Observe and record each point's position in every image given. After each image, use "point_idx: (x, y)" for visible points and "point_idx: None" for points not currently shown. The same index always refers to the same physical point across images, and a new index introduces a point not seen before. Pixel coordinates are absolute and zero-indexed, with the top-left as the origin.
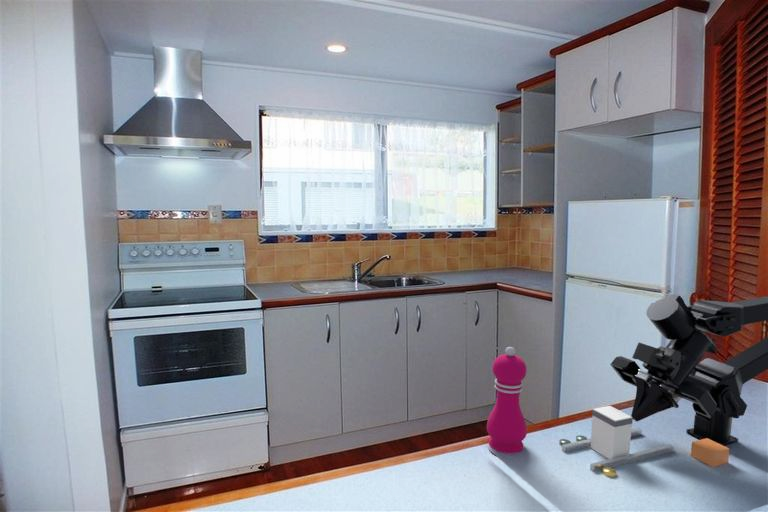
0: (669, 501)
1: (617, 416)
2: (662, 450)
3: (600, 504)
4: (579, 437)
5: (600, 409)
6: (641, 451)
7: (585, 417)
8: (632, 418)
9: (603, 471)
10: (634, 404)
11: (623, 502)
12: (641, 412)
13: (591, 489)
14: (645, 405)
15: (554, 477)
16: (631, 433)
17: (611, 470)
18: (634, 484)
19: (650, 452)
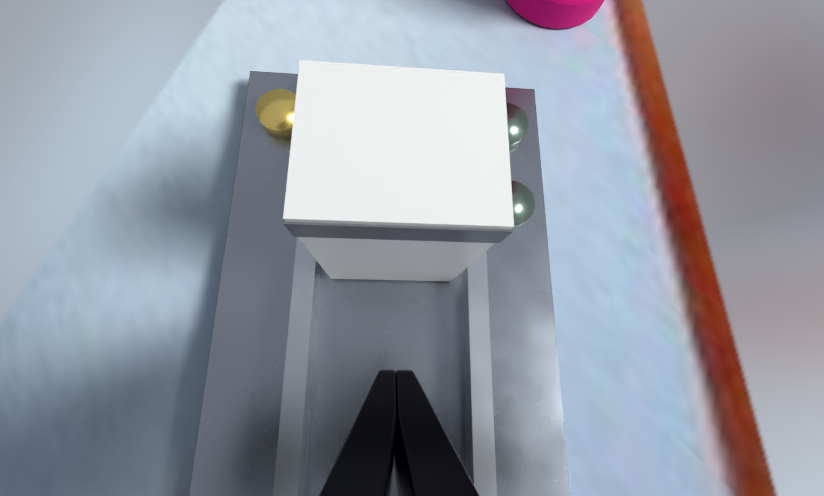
0: (103, 212)
1: (340, 123)
2: (277, 464)
3: (215, 21)
4: (519, 195)
5: (479, 110)
6: (307, 334)
7: (727, 448)
8: (283, 223)
9: (290, 93)
10: (449, 453)
11: (185, 81)
12: (352, 427)
13: (280, 52)
14: (331, 490)
15: (376, 9)
16: (471, 464)
17: (275, 114)
18: (231, 190)
19: (285, 373)
